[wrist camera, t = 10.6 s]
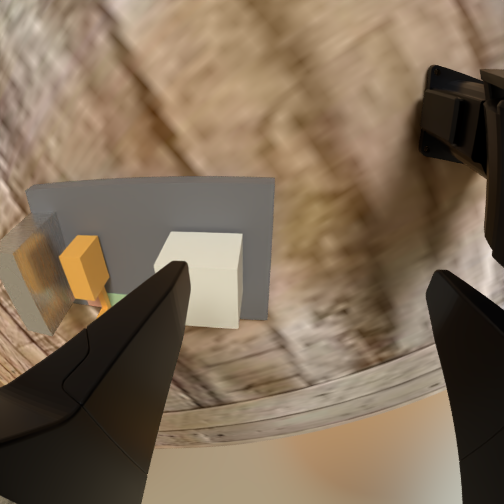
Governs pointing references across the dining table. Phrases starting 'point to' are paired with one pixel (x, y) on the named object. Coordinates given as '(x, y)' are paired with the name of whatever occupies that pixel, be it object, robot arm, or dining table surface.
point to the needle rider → (86, 270)
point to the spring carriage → (209, 275)
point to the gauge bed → (131, 236)
